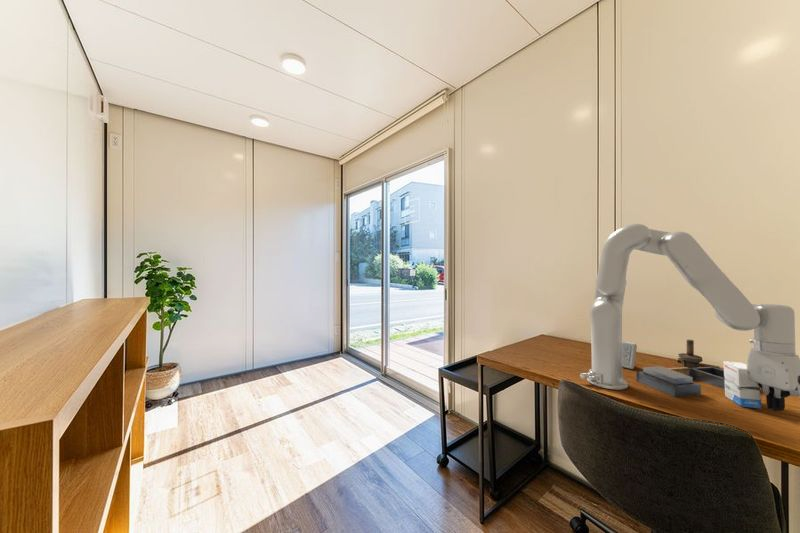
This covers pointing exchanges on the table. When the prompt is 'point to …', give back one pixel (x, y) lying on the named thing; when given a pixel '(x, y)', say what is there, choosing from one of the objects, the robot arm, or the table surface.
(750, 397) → the ink box
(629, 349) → the digital clock
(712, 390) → the table surface
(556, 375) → the table surface
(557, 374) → the table surface
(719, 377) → the grey case and lid
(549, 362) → the table surface
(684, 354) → the industrial component
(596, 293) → the robot arm
